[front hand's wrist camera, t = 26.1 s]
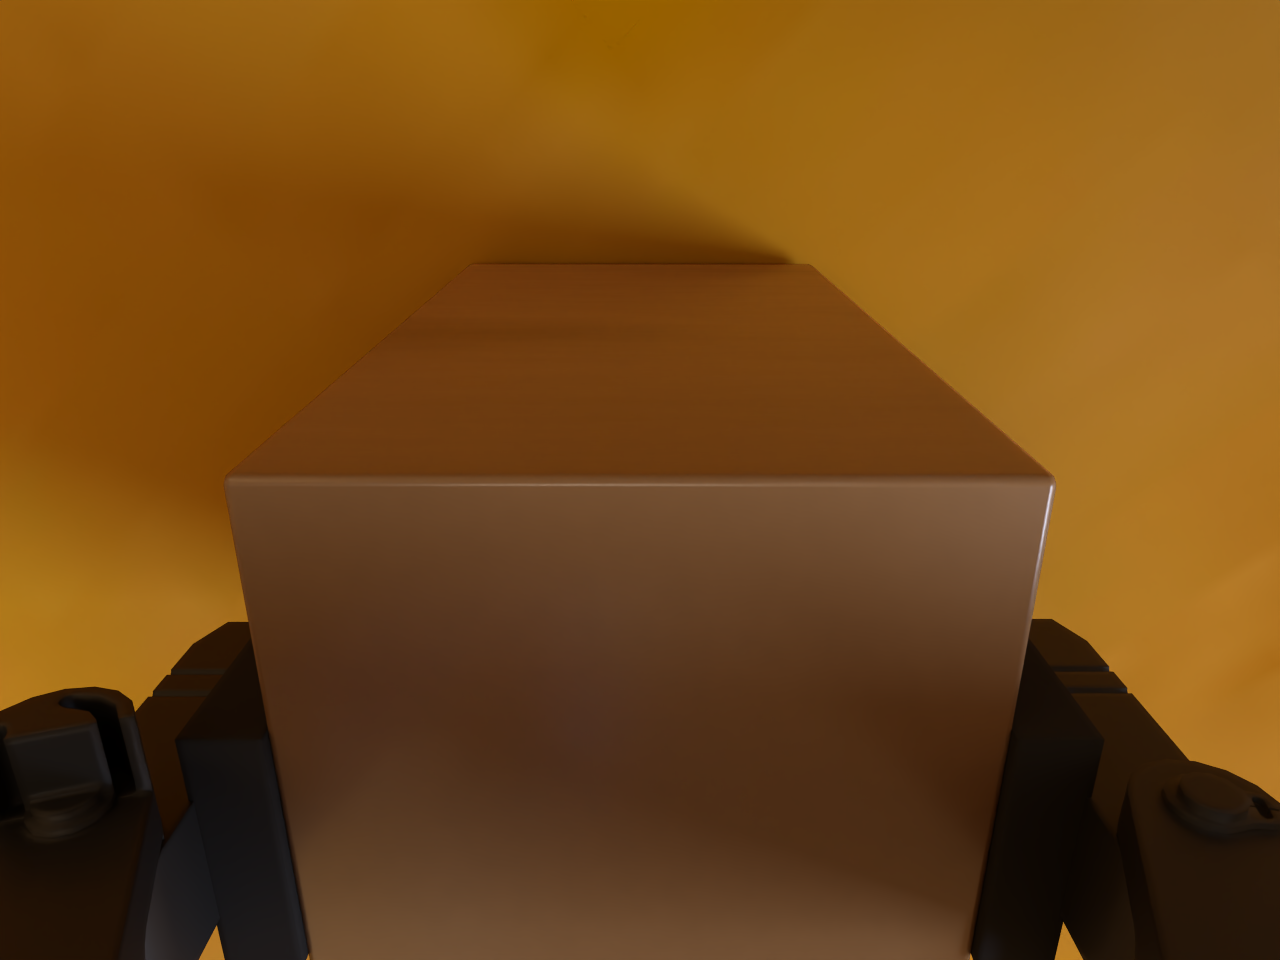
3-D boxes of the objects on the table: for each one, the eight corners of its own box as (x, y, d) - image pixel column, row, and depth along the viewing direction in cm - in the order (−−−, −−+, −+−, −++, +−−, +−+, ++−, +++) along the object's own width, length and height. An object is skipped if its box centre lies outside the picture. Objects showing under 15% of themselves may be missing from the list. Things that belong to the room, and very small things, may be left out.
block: (788, 612, 20) (942, 1128, 10) (491, 612, 20) (336, 1127, 10) (812, 263, 18) (1063, 477, 7) (468, 263, 18) (217, 476, 7)
